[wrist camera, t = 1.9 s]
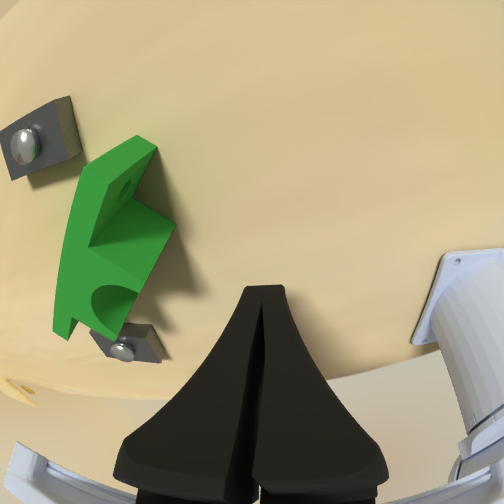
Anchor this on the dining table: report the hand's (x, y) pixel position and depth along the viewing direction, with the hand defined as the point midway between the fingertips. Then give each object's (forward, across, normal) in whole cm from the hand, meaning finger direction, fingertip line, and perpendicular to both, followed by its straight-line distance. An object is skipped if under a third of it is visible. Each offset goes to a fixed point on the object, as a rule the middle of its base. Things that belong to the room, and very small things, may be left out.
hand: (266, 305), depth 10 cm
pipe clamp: (+5, +8, -1) cm, 9 cm away
